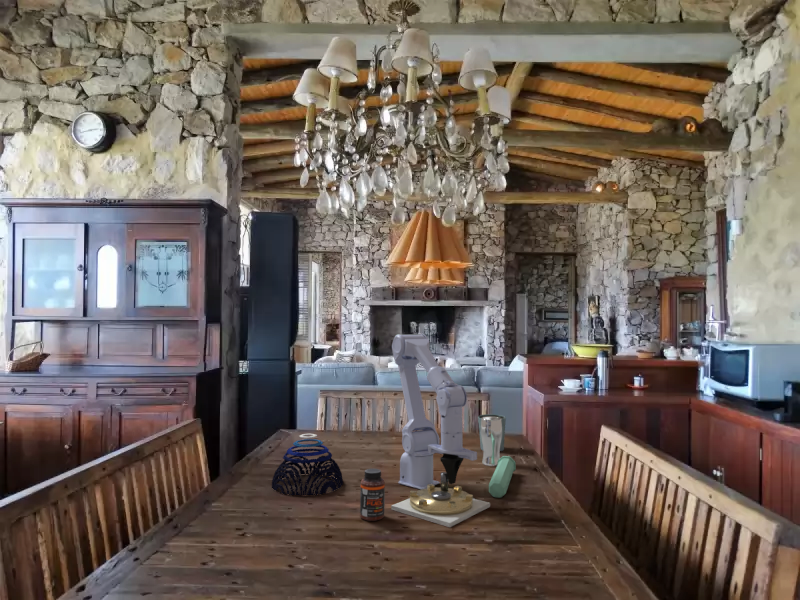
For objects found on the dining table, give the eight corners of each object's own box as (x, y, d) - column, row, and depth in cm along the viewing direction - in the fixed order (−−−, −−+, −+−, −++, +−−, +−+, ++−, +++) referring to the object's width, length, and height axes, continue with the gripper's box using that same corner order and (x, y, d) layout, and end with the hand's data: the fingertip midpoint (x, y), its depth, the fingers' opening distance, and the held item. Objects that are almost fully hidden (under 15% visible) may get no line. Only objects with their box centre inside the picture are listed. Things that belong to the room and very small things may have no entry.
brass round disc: (434, 519, 128) (434, 494, 128) (397, 500, 141) (397, 477, 141) (485, 506, 136) (485, 483, 136) (446, 489, 150) (446, 468, 150)
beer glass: (478, 465, 179) (478, 419, 179) (483, 459, 185) (483, 415, 186) (499, 467, 176) (499, 420, 177) (504, 462, 183) (503, 417, 183)
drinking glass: (510, 448, 202) (509, 415, 202) (499, 454, 193) (499, 420, 193) (484, 444, 207) (484, 413, 207) (473, 450, 198) (473, 417, 199)
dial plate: (391, 509, 138) (391, 505, 138) (433, 492, 151) (433, 488, 151) (449, 527, 126) (449, 522, 126) (490, 506, 140) (490, 502, 140)
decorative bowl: (356, 484, 158) (357, 435, 159) (301, 501, 144) (301, 447, 144) (314, 471, 172) (314, 425, 172) (259, 485, 157) (259, 435, 158)
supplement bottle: (366, 523, 128) (366, 475, 129) (356, 515, 133) (356, 469, 134) (388, 519, 131) (388, 471, 131) (378, 511, 136) (378, 466, 137)
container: (502, 477, 146) (511, 452, 169) (482, 483, 147) (494, 458, 171) (511, 498, 145) (519, 471, 169) (490, 504, 146) (501, 476, 170)
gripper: (483, 432, 143) (483, 485, 143) (438, 426, 153) (438, 475, 152) (468, 437, 138) (468, 491, 137) (423, 430, 147) (423, 480, 147)
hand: (452, 483), depth 144 cm, fingers closed
